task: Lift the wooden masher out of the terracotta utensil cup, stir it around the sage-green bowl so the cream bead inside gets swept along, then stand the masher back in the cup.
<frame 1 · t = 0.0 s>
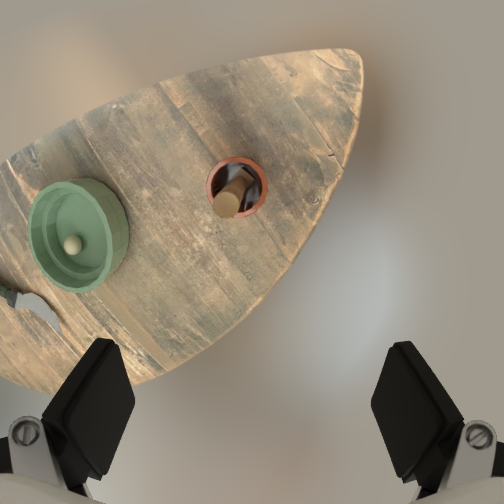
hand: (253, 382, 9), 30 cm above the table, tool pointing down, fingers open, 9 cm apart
knife: (26, 295, 43), on the table
utensil cup: (241, 180, 36), on the table
bead: (73, 245, 37), point 2 cm above the table, touching bowl
bowl: (86, 228, 38), on the table
wooden masher: (241, 180, 36), point 1 cm above the table, touching utensil cup
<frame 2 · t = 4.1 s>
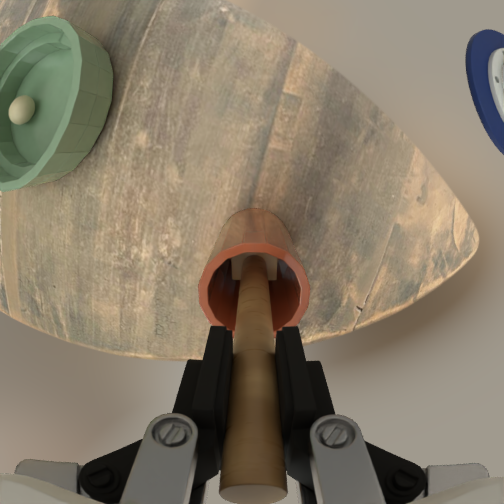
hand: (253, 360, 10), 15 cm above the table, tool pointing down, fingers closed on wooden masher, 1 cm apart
utensil cup: (254, 242, 24), on the table
bead: (21, 109, 18), point 2 cm above the table, touching bowl
bowl: (50, 105, 20), on the table
wooden masher: (254, 244, 24), point 1 cm above the table, touching gripper, utensil cup
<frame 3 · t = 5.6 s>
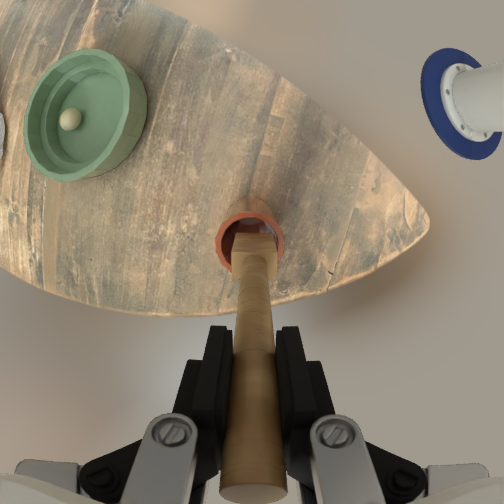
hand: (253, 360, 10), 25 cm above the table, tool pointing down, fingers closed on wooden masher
utensil cup: (250, 221, 34), on the table
bead: (70, 119, 28), point 2 cm above the table, touching bowl
bowl: (94, 117, 30), on the table
wooden masher: (254, 244, 24), point 11 cm above the table, touching gripper
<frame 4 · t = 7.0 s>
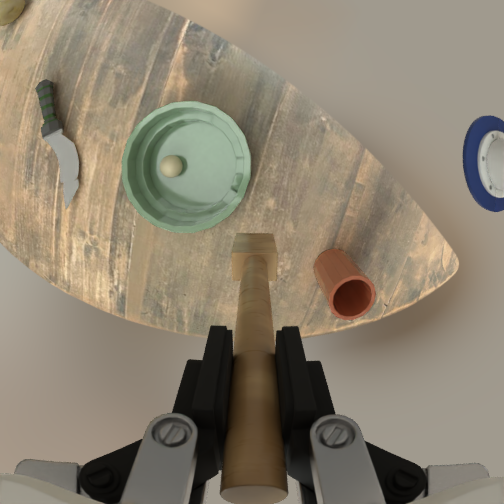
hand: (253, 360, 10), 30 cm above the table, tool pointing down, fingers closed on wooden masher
potato: (18, 14, 26), on the table
knife: (63, 138, 36), on the table
utensil cup: (332, 267, 41), on the table
bead: (171, 166, 35), point 2 cm above the table, touching bowl
bowl: (193, 165, 37), on the table
wooden masher: (254, 244, 24), point 16 cm above the table, touching gripper
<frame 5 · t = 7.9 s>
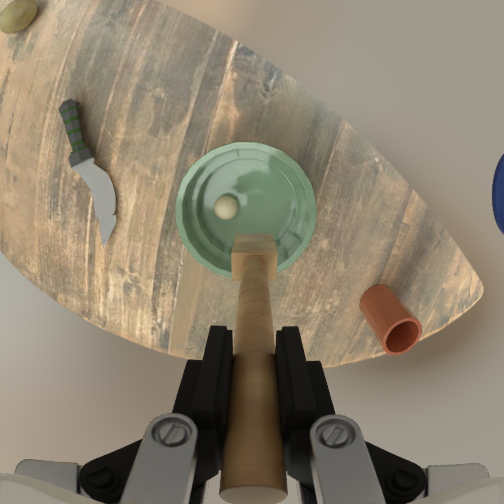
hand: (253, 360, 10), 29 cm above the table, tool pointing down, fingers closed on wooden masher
potato: (30, 20, 26), on the table
knife: (94, 166, 36), on the table
utensil cup: (376, 301, 41), on the table
bead: (226, 207, 35), point 2 cm above the table, touching bowl
bowl: (247, 205, 37), on the table
wooden masher: (254, 245, 24), point 14 cm above the table, touching gripper
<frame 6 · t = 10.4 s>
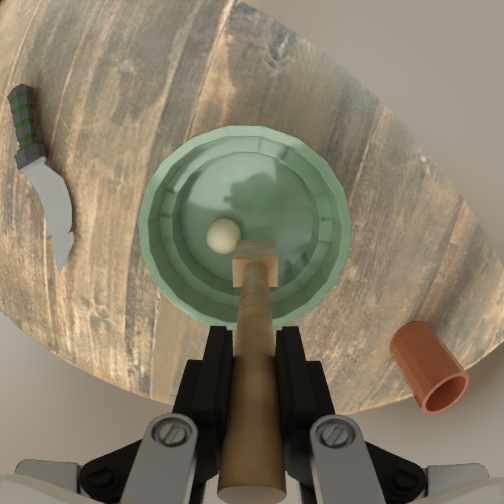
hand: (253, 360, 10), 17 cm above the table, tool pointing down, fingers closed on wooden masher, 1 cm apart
knife: (48, 168, 25), on the table
utensil cup: (410, 341, 30), on the table
bead: (223, 236, 24), point 2 cm above the table, tilted 41°, touching bowl, wooden masher
bowl: (246, 219, 26), on the table
wooden masher: (255, 252, 24), point 3 cm above the table, touching bead, gripper
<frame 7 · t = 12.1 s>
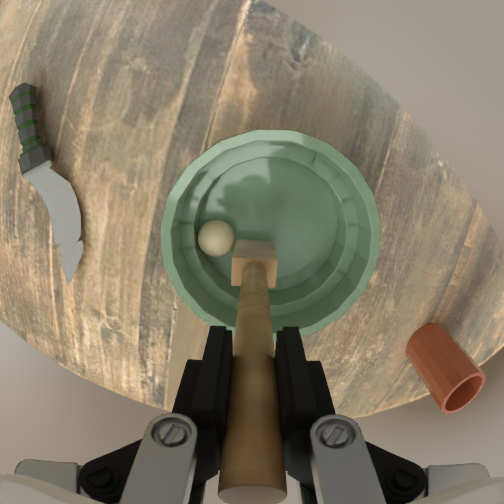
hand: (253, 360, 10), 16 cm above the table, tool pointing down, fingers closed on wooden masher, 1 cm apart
knife: (54, 172, 24), on the table
utensil cup: (425, 342, 30), on the table
bead: (216, 238, 24), point 2 cm above the table, tilted 78°, touching bowl
bowl: (269, 226, 25), on the table
wooden masher: (254, 251, 24), point 2 cm above the table, touching gripper
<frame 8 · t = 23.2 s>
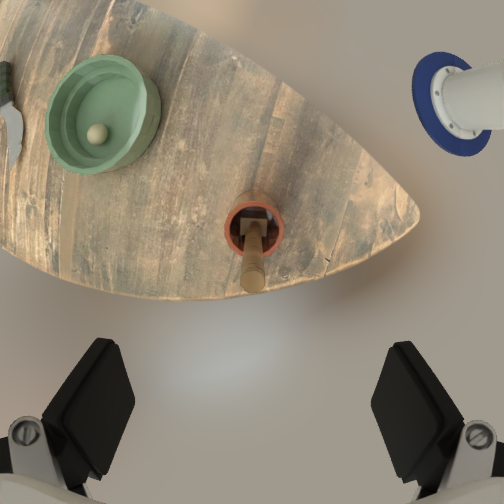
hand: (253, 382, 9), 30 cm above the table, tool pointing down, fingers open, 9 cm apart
knife: (14, 109, 32), on the table
utensil cup: (254, 212, 38), on the table
bead: (97, 134, 32), point 2 cm above the table, tilted 31°, touching bowl
bowl: (111, 117, 33), on the table
wooden masher: (253, 218, 37), point 1 cm above the table, touching utensil cup
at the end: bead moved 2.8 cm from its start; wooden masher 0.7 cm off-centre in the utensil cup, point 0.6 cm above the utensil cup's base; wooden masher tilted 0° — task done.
